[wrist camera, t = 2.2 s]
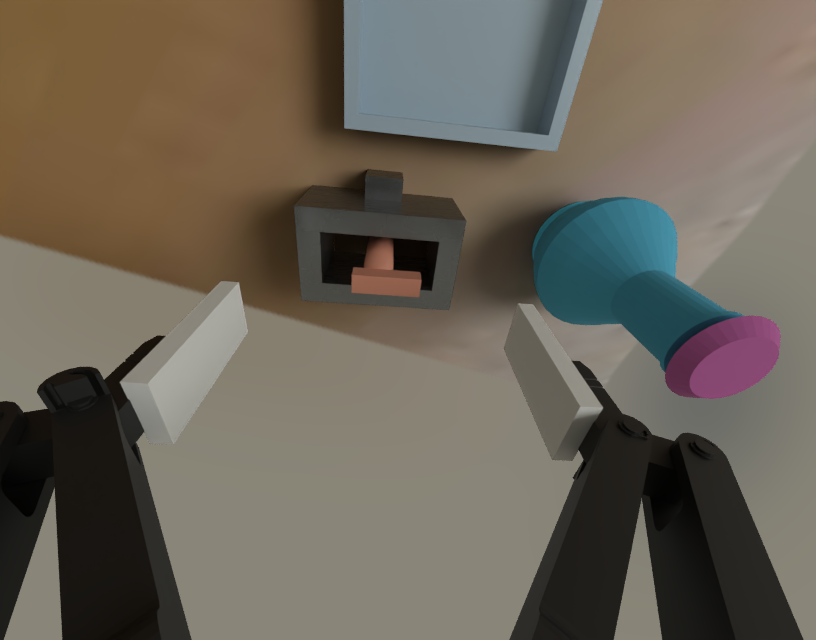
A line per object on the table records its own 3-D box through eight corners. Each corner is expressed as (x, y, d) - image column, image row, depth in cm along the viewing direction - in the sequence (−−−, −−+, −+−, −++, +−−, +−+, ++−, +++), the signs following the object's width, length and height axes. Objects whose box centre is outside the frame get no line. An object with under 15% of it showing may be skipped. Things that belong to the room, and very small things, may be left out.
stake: (362, 243, 26) (351, 298, 19) (363, 220, 25) (351, 268, 18) (411, 247, 26) (418, 302, 19) (413, 225, 26) (422, 274, 18)
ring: (317, 266, 27) (301, 300, 22) (311, 163, 23) (291, 179, 18) (439, 275, 28) (449, 310, 23) (455, 178, 24) (471, 196, 19)
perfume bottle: (539, 312, 30) (642, 461, 18) (497, 227, 26) (596, 346, 13) (644, 259, 28) (851, 390, 15) (619, 156, 23) (880, 220, 11)
